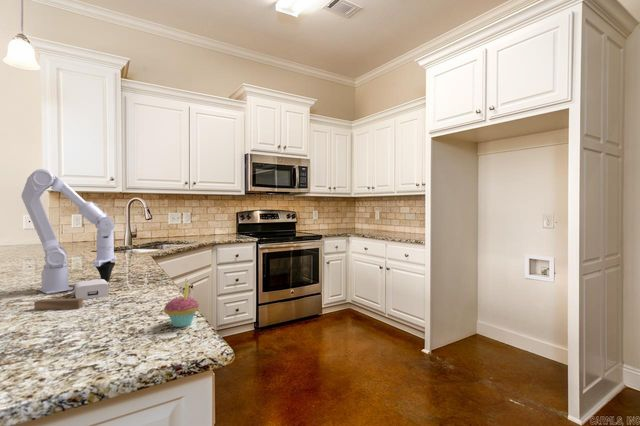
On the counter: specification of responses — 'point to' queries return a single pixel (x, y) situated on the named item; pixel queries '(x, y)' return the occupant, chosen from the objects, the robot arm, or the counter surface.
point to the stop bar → (58, 304)
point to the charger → (91, 289)
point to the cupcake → (181, 310)
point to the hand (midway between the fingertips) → (105, 281)
